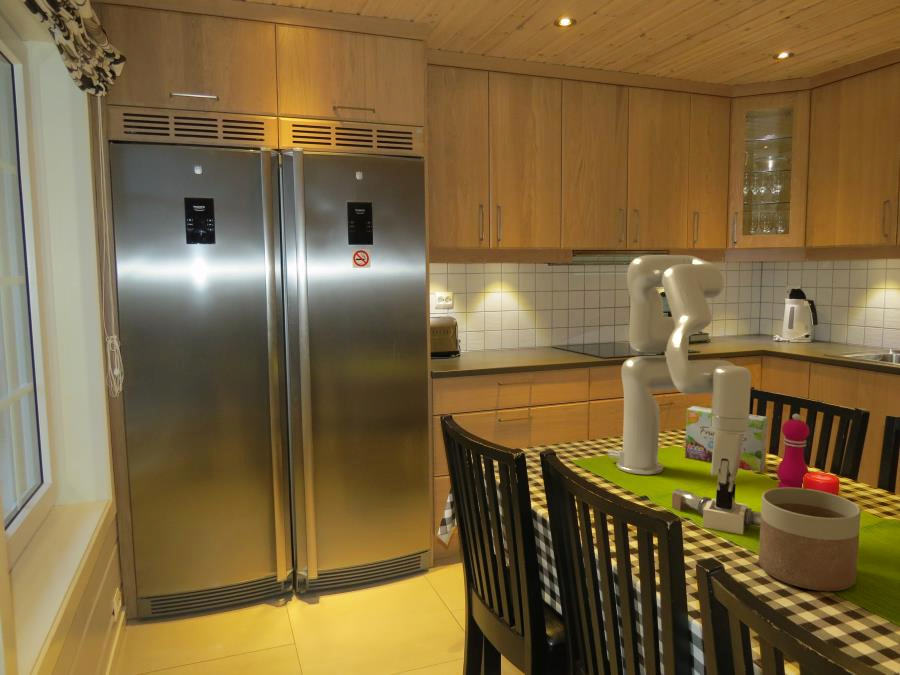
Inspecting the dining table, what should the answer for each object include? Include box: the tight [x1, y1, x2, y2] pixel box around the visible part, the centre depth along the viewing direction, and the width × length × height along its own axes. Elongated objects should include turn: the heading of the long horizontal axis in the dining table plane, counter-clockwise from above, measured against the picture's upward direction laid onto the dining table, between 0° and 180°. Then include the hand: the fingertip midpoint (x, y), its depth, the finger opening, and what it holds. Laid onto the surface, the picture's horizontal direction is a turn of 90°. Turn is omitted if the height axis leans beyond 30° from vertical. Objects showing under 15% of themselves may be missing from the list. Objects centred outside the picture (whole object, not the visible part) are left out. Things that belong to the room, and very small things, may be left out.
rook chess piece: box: [715, 474, 737, 513], centre depth 144 cm, size 4×4×8 cm
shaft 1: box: [671, 488, 712, 515], centre depth 152 cm, size 9×4×4 cm, turn 30°
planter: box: [758, 487, 862, 592], centre depth 121 cm, size 16×16×14 cm
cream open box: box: [702, 498, 748, 535], centre depth 144 cm, size 8×8×4 cm
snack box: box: [684, 405, 769, 473], centre depth 188 cm, size 21×6×15 cm, turn 49°
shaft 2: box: [744, 507, 761, 528], centre depth 140 cm, size 9×4×4 cm, turn 60°
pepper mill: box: [776, 413, 810, 488], centre depth 164 cm, size 7×7×20 cm
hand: (725, 503), depth 144 cm, fingers closed on rook chess piece, 4 cm apart
